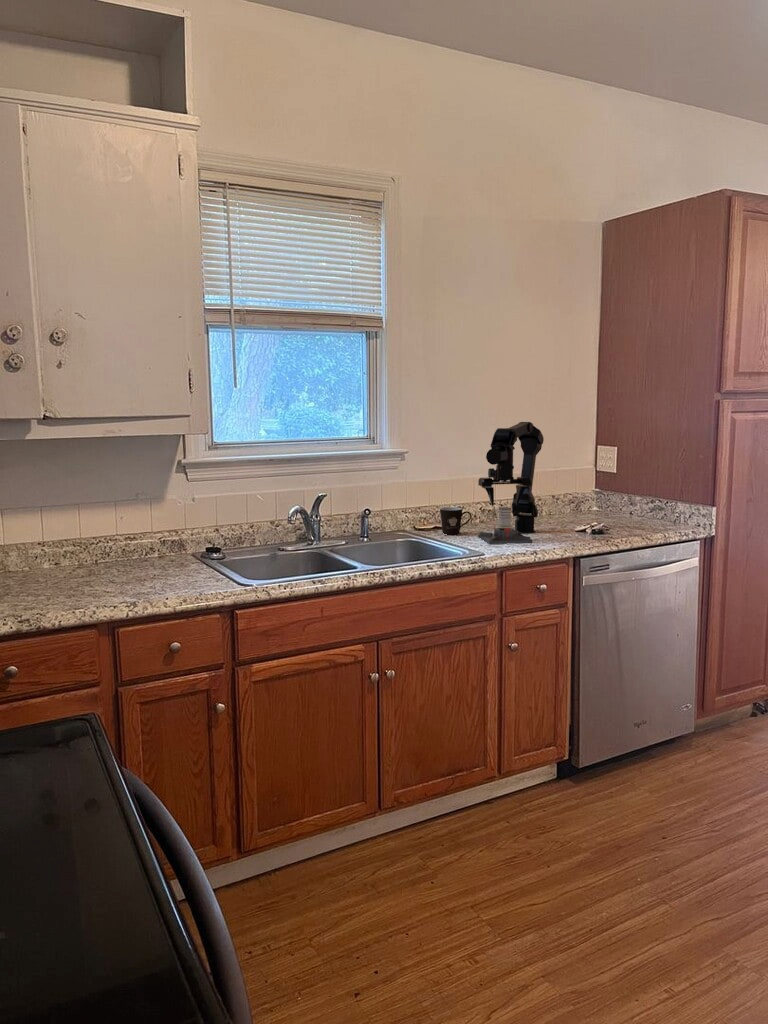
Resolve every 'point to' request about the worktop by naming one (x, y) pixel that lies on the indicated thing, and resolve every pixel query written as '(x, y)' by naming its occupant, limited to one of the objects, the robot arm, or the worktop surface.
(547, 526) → the worktop surface
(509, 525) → the column
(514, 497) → the robot arm
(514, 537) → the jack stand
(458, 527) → the coffee mug
